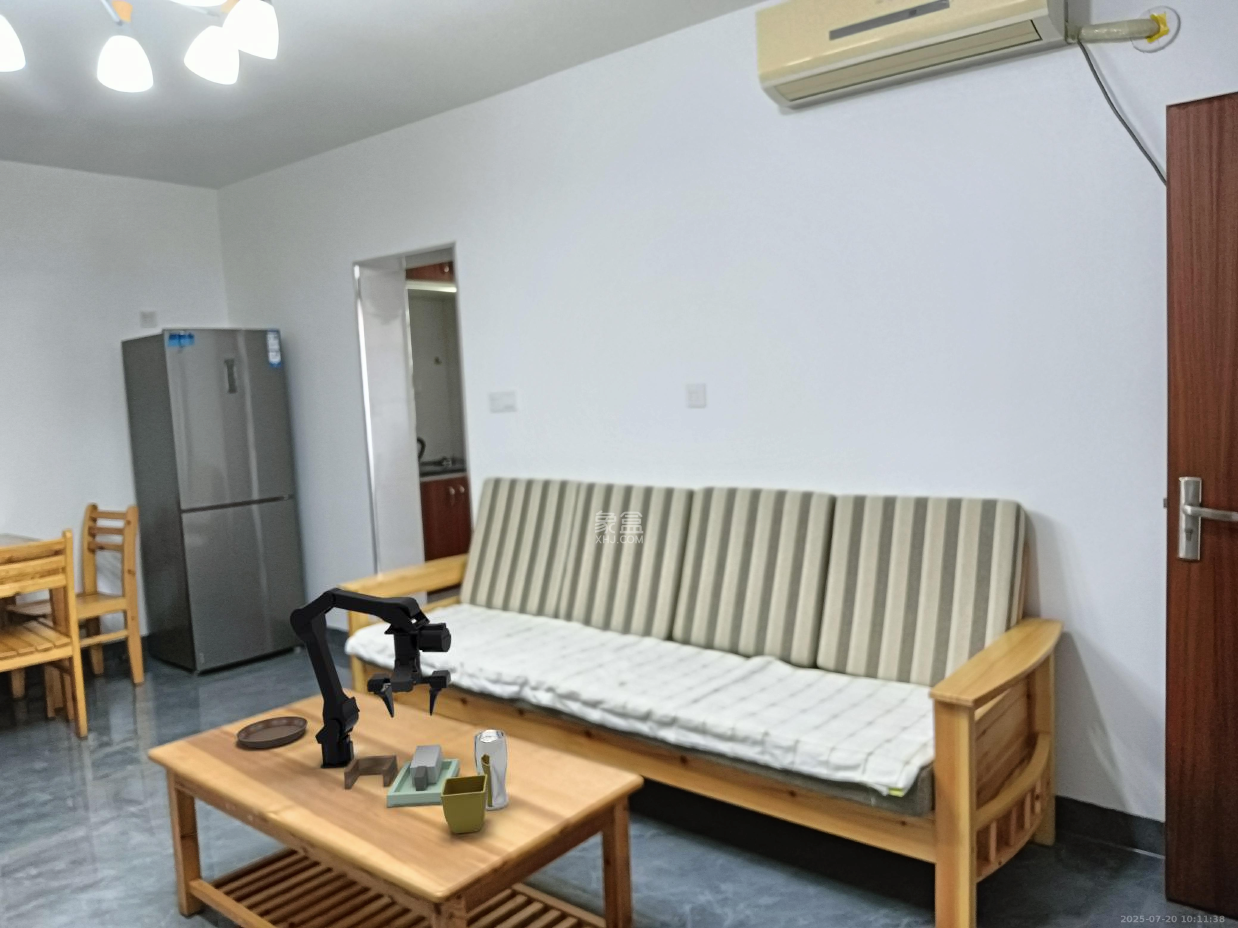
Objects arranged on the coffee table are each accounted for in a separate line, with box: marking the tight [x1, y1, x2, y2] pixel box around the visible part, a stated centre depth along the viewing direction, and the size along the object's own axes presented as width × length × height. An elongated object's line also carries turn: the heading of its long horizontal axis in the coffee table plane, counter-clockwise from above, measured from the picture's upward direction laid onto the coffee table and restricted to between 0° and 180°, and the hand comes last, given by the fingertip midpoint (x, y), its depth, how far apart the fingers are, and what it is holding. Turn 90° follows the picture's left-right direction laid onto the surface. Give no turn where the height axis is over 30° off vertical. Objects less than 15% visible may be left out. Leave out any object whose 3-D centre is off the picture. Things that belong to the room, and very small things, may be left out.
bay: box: [343, 754, 399, 790], centre depth 210 cm, size 10×8×4 cm
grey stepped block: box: [410, 744, 443, 791], centre depth 206 cm, size 6×12×5 cm, turn 0°
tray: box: [386, 758, 461, 808], centre depth 204 cm, size 12×18×3 cm
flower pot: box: [441, 774, 487, 834], centre depth 184 cm, size 9×9×9 cm
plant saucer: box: [236, 715, 309, 749], centre depth 241 cm, size 18×18×3 cm
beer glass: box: [473, 729, 509, 811], centre depth 194 cm, size 7×7×15 cm
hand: (412, 715), depth 216 cm, fingers open, 9 cm apart
